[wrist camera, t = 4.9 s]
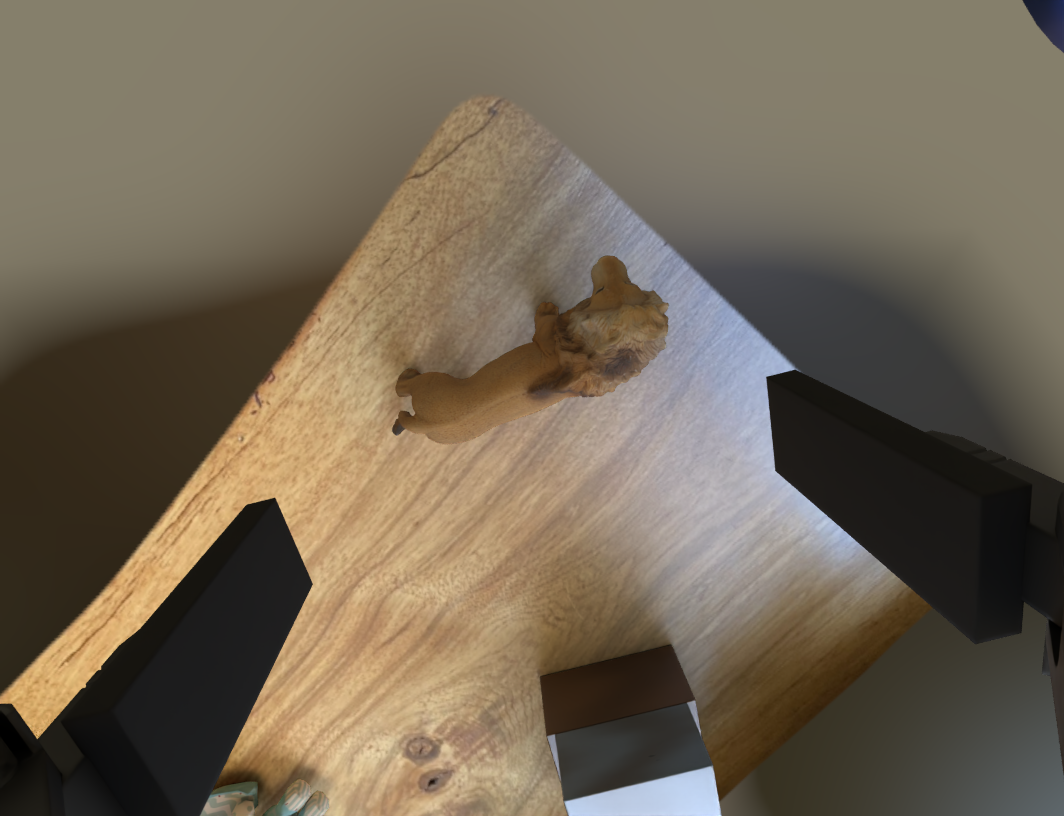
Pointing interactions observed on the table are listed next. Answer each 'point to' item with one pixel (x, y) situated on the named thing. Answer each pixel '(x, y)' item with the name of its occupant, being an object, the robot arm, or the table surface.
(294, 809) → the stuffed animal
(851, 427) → the robot arm
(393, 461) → the table surface
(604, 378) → the lion figurine
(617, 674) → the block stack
